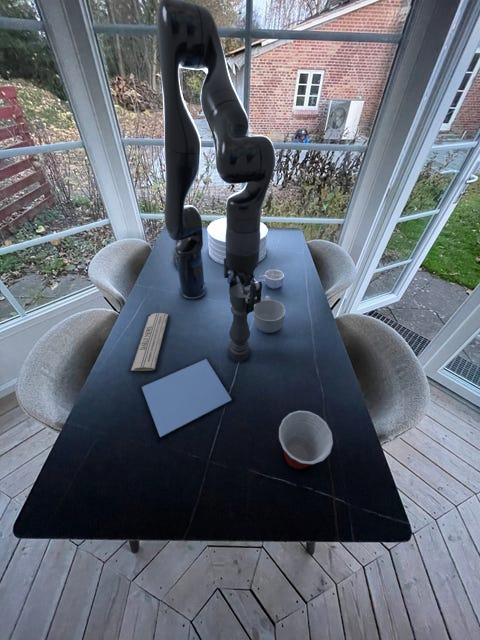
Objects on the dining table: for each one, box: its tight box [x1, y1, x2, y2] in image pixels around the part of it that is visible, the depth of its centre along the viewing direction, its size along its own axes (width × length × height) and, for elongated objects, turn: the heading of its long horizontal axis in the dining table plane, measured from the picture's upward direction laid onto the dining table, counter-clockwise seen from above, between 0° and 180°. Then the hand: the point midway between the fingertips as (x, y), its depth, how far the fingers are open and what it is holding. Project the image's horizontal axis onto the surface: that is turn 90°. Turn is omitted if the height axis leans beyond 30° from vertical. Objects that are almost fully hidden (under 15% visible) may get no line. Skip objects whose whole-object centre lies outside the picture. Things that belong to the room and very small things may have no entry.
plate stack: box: [206, 216, 269, 266], centre depth 126 cm, size 28×28×12 cm
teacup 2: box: [252, 295, 287, 334], centre depth 91 cm, size 14×11×8 cm
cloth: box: [141, 358, 233, 438], centre depth 73 cm, size 16×20×1 cm
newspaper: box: [130, 312, 169, 372], centre depth 86 cm, size 24×7×2 cm, turn 1°
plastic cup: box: [278, 410, 334, 470], centre depth 58 cm, size 11×11×12 cm
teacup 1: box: [258, 269, 285, 290], centre depth 109 cm, size 10×8×5 cm
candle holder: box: [228, 284, 251, 363], centre depth 75 cm, size 6×6×25 cm
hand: (240, 302), depth 69 cm, fingers open, 7 cm apart
